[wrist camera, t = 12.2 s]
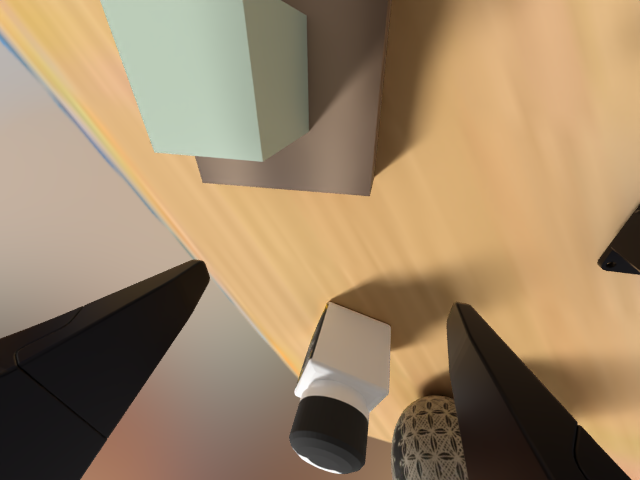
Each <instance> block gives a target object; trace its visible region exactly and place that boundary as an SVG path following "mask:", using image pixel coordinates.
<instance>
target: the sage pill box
mask: <svg viewBox="0 0 640 480" xmlns="http://www.w3.org/2000/svg"><path fill="white" fill-rule="evenodd" d="M100 1H101V4H102V7H103V10H104V12H105V15H106V18H107V21H108V23H109V26H110V29H111V32H112V35H113V37H114V40H115V43H116V46H117V49H118V51H119V54H120V57H121V60H122V63H123V65H124V68H125V71H126V74H127V77H128V79H129V82H130V85H131V88H132V91H133V93H134V96H135V99H136V102H137V105H138V107H139V110H140V113H141V116H142V119H143V121H144V124H145V127H146V130H147V133H148V135H149V138H150V141H151V144H152V147H153V149H154V152H156V153H168V154H179V155H191V156H202V157H214V158H225V159H236V160H248V161H259V162H263V161H265V160H266V159H268V158H269V157H271V156H272V155H274V154H275V153H277V152H279V151H280V150H282V149H283V148H285V147H286V146H288V145H289V144H291V143H292V142H294V141H295V140H297V139H298V138H300V137H301V136H303V135H305V134H306V133H308V132H309V106H308V57H307V15H305V14H303V13H302V12H300V11H298V10H297V9H295V8H293V7H291V6H290V5H288V4H286V3H285V2H283V1H281V0H100Z"/></svg>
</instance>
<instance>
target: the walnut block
mask: <svg viewBox="0 0 640 480" xmlns="http://www.w3.org/2000/svg"><path fill="white" fill-rule="evenodd" d="M281 1H283V2H285V3H286V4H288V5H290V6H291V7H293V8H295V9H297V10H298V11H300V12H302V13H303V14H305V15H307V57H308V106H309V132H308V133H306V134H305V135H303V136H301V137H300V138H298V139H297V140H295V141H294V142H292V143H291V144H289V145H288V146H286V147H285V148H283V149H282V150H280V151H279V152H277V153H275V154H274V155H272V156H271V157H269V158H268V159H266V160H265V161H263V162H259V161H248V160H236V159H225V158H214V157H202V156H195V158H196V161H197V164H198V168H199V171H200V175H201V178H202V182H203V183H212V184H225V185H237V186H250V187H262V188H274V189H287V190H299V191H312V192H324V193H336V194H349V195H361V196H370V193H371V189H372V184H373V180H374V173H375V163H376V153H377V143H378V133H379V123H380V113H381V103H382V93H383V83H384V73H385V63H386V52H387V42H388V32H389V22H390V12H391V2H392V0H281Z"/></svg>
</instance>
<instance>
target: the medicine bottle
mask: <svg viewBox="0 0 640 480" xmlns="http://www.w3.org/2000/svg"><path fill="white" fill-rule="evenodd" d="M390 346H391V327H390V325H388V324H385V323H383V322H380V321H378V320H375V319H373V318H370V317H368V316H365V315H363V314H360V313H358V312H355V311H353V310H350V309H347V308H345V307H342V306H340V305H337V304H335V303H332V302H328V303H327V304H326V307H325V309H324V311H323V314H322V316H321V318H320V320H319V323H318V325H317V327H316V330H315V332H314V334H313V336H312V339H311V342H310V345H309V348H308V351H307V354H306V358H305V361H304V364H303V367H302V370H301V373H300V376H299V379H298V382H297V385H296V388H295V392H294V393H295V395H296V396H298V397H300V398H301V400H300V403H299V406H298V410H297V413H296V416H295V419H294V423H293V426H292V429H291V432H290V436H289V438H290V443H291V446H292V448H293V449H294V450H295V451H296V453H297V454H298V455H299V456H300V457H301V458H302V459H303V460H305V461H306V462H308V463H309V464H311V465H313V466H315V467H317V468H320V469H323V470H325V471H329V472H333V473H339V474H348V473H351V472H355V471H358V470H360V469H361V468H362V467H363V465H364V464H365V457H366V446H367V434H368V423H369V412H370V411H372V410H373V409H374V408H375V407H376V406H377V405H378V404H379V403H380V402H381V401H382V400H383V399H384V398H385V397H386V396H387V395H388V393H389V377H390Z"/></svg>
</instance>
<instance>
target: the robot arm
mask: <svg viewBox="0 0 640 480" xmlns="http://www.w3.org/2000/svg"><path fill="white" fill-rule="evenodd" d="M609 262H611V263H609ZM597 263H598V265H599V266H600V267H601V268H602V269H603V270H606V271H613V272H622V273H630V274H638V275H640V205H639V206H638V208H637V209H636V210H635V212H634V213H633V214H632V216H631V217H630V218H629V220H628V221H627V222H626V224H625V225H624V226H623V228H622V229H621V230H620V232H619V233H618V234H617V236H616V237H615V239H614V240H613V241H612V243H611V244H610V245H609V247H608V248H607V249H606V251H605V252H604V253H603V255H602V256H601V257H600V259H599V260H598V262H597ZM608 263H609V264H608ZM209 281H210V276H209V273H208V270H207V267H206V264H205V263H204V262H203V261H201V260H190V261H188V262H186V263H183V264H181V265H179V266H176V267H174V268H172V269H169V270H167V271H165V272H162V273H160V274H157V275H155V276H153V277H150V278H148V279H146V280H144V281H141V282H138V283H136V284H134V285H131V286H129V287H127V288H124V289H122V290H120V291H118V292H115V293H112V294H110V295H108V296H105V297H103V298H101V299H99V300H96V301H94V302H91V303H89V304H87V305H85V306H84V307H83V306H82V307H79V308H77V309H75V310H72V311H70V312H67V313H65V314H63V315H60V316H58V317H55V318H53V319H50V320H48V321H45V322H43V323H40V324H38V325H35V326H32V327H30V328H27V329H25V330H22V331H19V332H17V333H14V334H11V335H9V336H6V337H3V338H1V339H0V480H80V479H81V478H82V476H83V475H84V473H85V472H86V470H87V469H88V467H89V466H90V464H91V463H92V461H93V460H94V458H95V457H96V455H97V454H98V453H99V451H100V450H101V448H102V446H103V445H104V443H105V442H106V441H107V438H108V437H109V436H110V434H111V433H112V431H113V430H114V428H115V427H116V426H117V424H118V423H119V421H120V420H121V418H122V416H123V415H124V414H125V412H126V411H127V409H128V408H129V406H130V405H131V403H132V402H133V400H134V399H135V397H136V396H137V394H138V393H139V392H140V390H141V389H142V387H143V386H144V384H145V383H146V381H147V380H148V378H149V377H150V375H151V374H152V372H153V371H154V369H155V368H156V366H157V365H158V364H159V362H160V361H161V359H162V358H163V356H164V355H165V353H166V352H167V350H168V349H169V347H170V346H171V344H172V343H173V341H174V340H175V338H176V337H177V335H178V334H179V333H180V331H181V330H182V328H183V326H184V325H185V323H186V322H187V321H188V319H189V317H190V316H191V314H192V313H193V311H194V309H195V307H196V305H197V303H198V302H199V300H200V298H201V296H202V294H203V292H204V290H205V289H206V287H207V285H208V283H209ZM447 342H448V358H449V373H450V380H451V386H452V391H453V397H454V402H455V408H456V413H457V419H458V424H459V430H460V436H461V441H462V447H463V452H464V458H465V463H466V469H467V474H468V480H631V479H630V478H629V477H628V476H627V475H626V473H625V472H624V471H623V470H622V469H621V468H620V467H619V466H618V465H617V464H616V463H615V462H614V461H613V460H612V459H611V458H610V456H609V455H608V454H607V453H606V452H605V451H604V450H603V449H602V448H601V447H600V446H599V445H598V444H597V443H596V442H595V440H594V439H593V438H592V437H591V436H590V435H589V434H588V433H587V432H586V431H585V430H584V428H583V427H582V426H580V425H577V424H578V423H577V421H576V420H575V419H574V418H573V417H572V415H571V414H570V413H569V412H568V411H567V410H566V409H565V408H564V407H563V406H562V405H561V403H560V402H559V401H558V400H557V399H556V398H555V397H554V396H553V395H552V394H551V393H550V391H549V390H548V389H547V388H546V387H545V386H544V385H543V384H542V383H541V382H540V380H539V379H538V378H537V377H536V376H535V375H534V374H533V373H532V372H531V371H530V370H529V368H528V367H527V366H526V365H525V364H524V363H523V362H522V361H521V360H520V359H519V358H518V356H517V355H516V354H515V353H514V352H513V351H512V350H511V349H510V348H509V347H508V346H507V344H506V343H505V342H504V341H503V340H502V339H501V338H500V337H499V336H498V335H497V333H496V332H495V331H494V330H493V329H492V328H491V327H490V326H489V325H488V324H487V323H486V321H485V320H484V319H483V318H482V317H481V316H480V315H479V314H478V313H477V312H476V311H475V309H474V308H473V307H472V306H471V305H469V304H466V303H460V302H455V303H454V304H453V306H452V309H451V311H450V314H449V316H448V319H447Z"/></svg>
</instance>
